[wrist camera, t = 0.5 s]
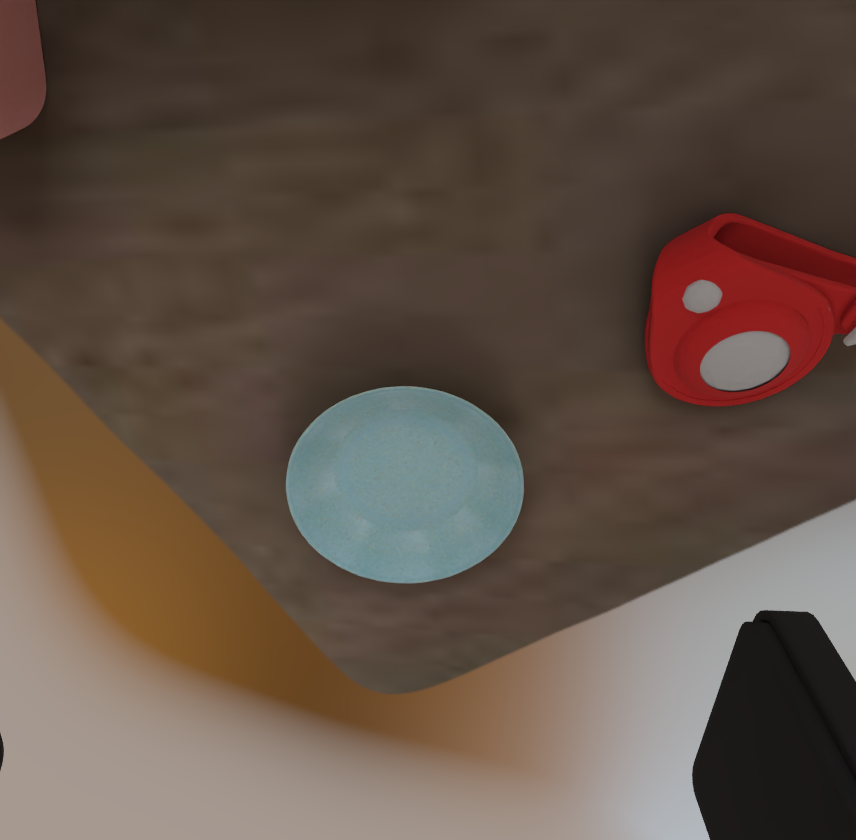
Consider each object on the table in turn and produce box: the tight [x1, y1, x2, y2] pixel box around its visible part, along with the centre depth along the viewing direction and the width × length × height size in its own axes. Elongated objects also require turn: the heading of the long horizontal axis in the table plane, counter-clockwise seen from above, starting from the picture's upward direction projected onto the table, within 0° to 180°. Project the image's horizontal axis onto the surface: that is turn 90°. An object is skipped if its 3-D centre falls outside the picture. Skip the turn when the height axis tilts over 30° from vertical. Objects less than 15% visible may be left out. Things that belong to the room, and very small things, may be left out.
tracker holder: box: [645, 213, 856, 406], centre depth 37 cm, size 12×4×10 cm
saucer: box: [286, 386, 524, 583], centre depth 42 cm, size 12×12×2 cm
